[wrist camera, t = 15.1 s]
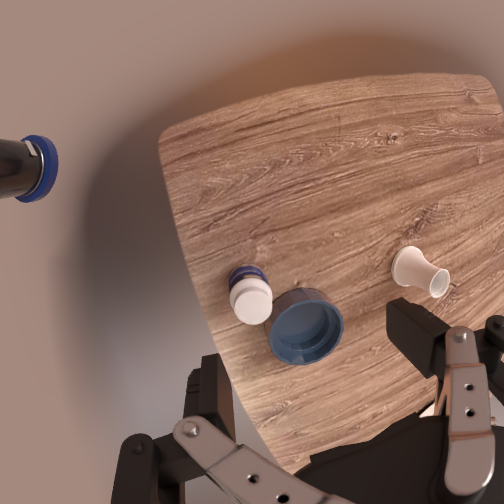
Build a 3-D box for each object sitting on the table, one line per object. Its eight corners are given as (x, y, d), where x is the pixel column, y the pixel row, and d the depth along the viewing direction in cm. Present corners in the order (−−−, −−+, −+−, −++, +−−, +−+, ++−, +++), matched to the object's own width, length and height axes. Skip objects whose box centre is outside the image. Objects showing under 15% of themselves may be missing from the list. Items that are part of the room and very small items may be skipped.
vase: (390, 250, 44) (424, 267, 34) (421, 242, 44) (456, 256, 35) (391, 289, 46) (422, 311, 36) (420, 278, 46) (452, 297, 37)
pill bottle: (256, 256, 42) (266, 279, 32) (271, 287, 43) (284, 317, 34) (222, 272, 42) (221, 299, 32) (238, 302, 43) (242, 335, 34)
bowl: (258, 346, 46) (262, 364, 41) (272, 283, 43) (278, 296, 38) (322, 349, 48) (331, 365, 43) (340, 290, 45) (352, 302, 40)
